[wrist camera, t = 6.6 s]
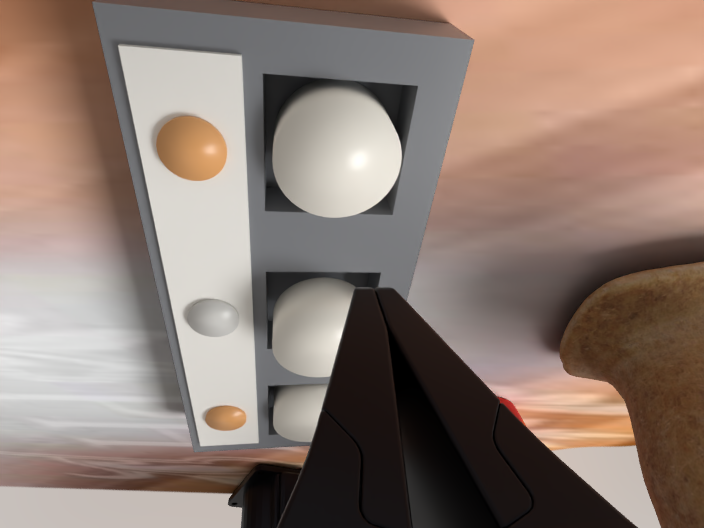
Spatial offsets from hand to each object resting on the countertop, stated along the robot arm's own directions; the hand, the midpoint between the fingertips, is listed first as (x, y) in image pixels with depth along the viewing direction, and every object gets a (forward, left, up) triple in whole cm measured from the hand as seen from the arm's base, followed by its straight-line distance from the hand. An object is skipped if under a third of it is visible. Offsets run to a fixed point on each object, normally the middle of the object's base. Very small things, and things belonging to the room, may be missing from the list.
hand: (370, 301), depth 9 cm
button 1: (0, 0, -9) cm, 9 cm away
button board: (-8, -2, -10) cm, 13 cm away
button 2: (-15, -7, -9) cm, 18 cm away
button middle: (-7, -3, -8) cm, 11 cm away
